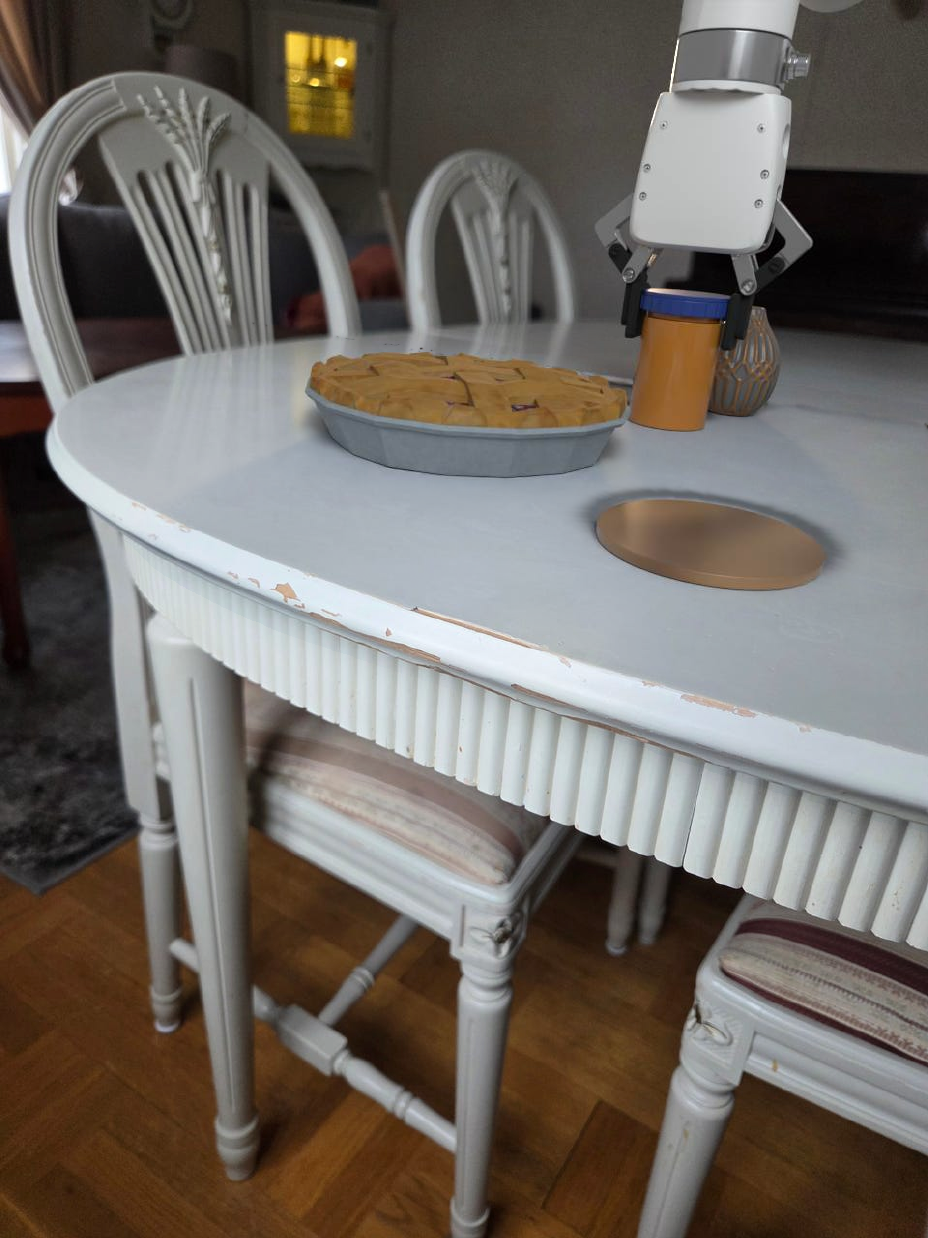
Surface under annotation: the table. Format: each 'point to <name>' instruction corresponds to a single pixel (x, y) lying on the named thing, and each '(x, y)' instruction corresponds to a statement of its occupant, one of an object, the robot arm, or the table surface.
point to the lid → (685, 303)
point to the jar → (675, 371)
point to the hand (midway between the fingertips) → (680, 340)
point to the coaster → (710, 544)
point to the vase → (747, 370)
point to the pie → (466, 413)
